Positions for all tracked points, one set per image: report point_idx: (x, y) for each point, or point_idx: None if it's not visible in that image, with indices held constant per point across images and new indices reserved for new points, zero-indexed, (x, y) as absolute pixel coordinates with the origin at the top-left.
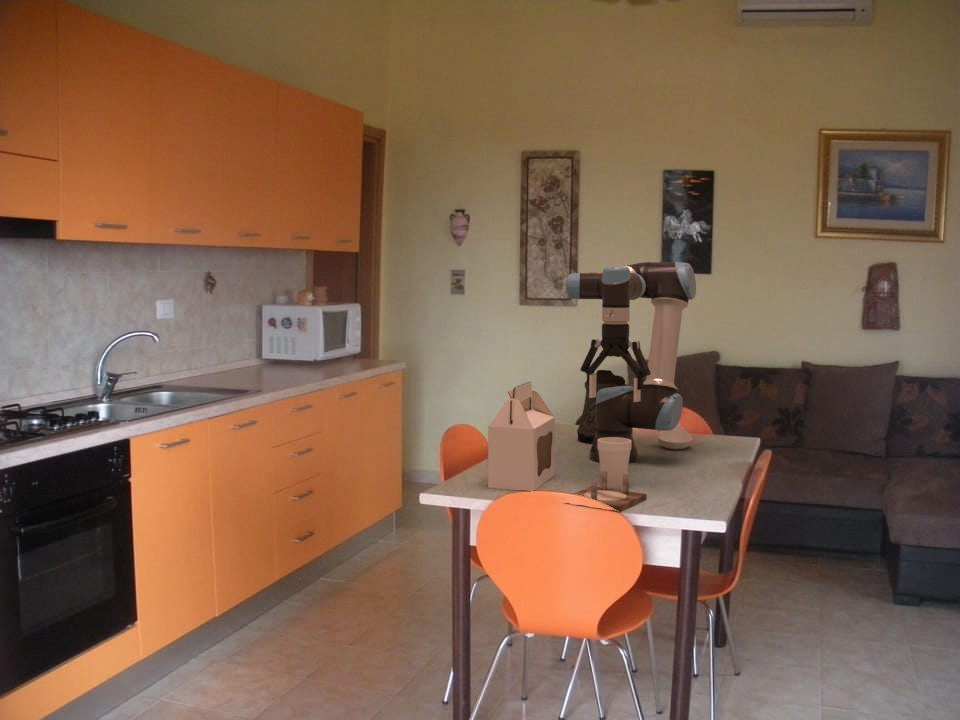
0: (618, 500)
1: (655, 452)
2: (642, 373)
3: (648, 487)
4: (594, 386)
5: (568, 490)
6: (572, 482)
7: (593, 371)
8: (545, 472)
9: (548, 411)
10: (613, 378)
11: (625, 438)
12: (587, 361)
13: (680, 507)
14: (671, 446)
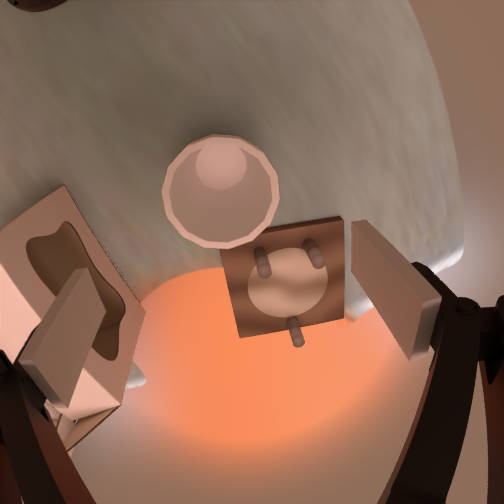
0: (325, 293)
1: None
2: (479, 364)
3: (288, 119)
4: (74, 323)
5: (178, 262)
6: (132, 203)
7: (22, 386)
8: (93, 255)
9: None
10: None
11: (227, 139)
12: (14, 477)
13: (406, 221)
14: None
